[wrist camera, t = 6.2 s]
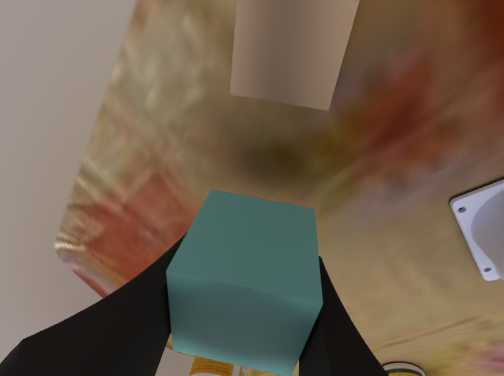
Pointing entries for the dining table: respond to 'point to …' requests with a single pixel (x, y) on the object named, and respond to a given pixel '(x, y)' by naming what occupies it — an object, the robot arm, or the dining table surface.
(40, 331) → the robot arm
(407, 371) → the supplement bottle
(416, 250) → the dining table surface
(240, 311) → the teal block
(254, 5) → the tan cube
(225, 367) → the supplement bottle
